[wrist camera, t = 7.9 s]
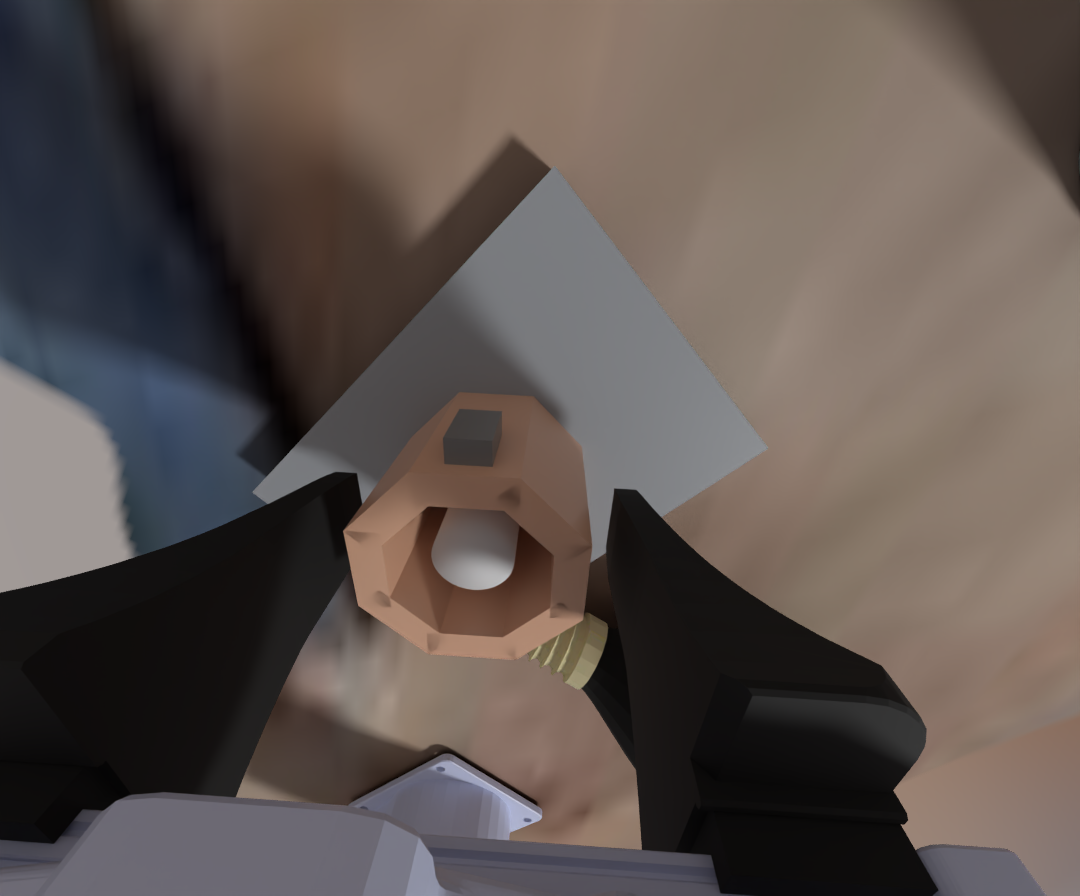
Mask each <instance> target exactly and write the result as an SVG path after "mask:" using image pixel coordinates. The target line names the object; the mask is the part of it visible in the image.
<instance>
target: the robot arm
mask: <svg viewBox="0 0 1080 896" xmlns="http://www.w3.org/2000/svg"><path fill="white" fill-rule="evenodd" d="M361 506H362V499H361V493H360V488H359V482H358V476H357V473H349V472H333V473H331V474H328V475H326V476H324V477H321V478H319V479H317V480H315V481H313V482H311V483H309V484H307V485H305V486H303V487H301V488H299V489H297V490H295V491H293V492H291V493H289V494H287V495H285V496H283V497H281V498H279V499H277V500H275V501H273V502H271V503H269V504H267V505H265V506H263V507H261V508H259V509H257V510H254V511H252V512H250V513H248V514H246V515H244V516H241V517H239V518H237V519H235V520H233V521H231V522H228V523H226V524H224V525H222V526H219V527H217V528H215V529H212V530H210V531H207V532H205V533H203V534H200V535H197V536H195V537H192V538H190V539H187V540H184V541H182V542H179V543H176V544H174V545H171V546H168V547H165V548H162V549H159V550H156V551H153V552H150V553H147V554H144V555H141V556H138V557H135V558H131V559H128V560H125V561H122V562H119V563H116V564H113V565H109V566H106V567H102V568H99V569H95V570H92V571H88V572H84V573H81V574H77V575H74V576H70V577H66V578H62V579H58V580H54V581H50V582H46V583H42V584H38V585H33V586H30V587H25V588H21V589H16V590H11V591H6V592H2V593H0V896H1047V895H1046V894H1045V893H1044V891H1043V890H1042V888H1041V887H1040V886H1039V884H1038V883H1037V882H1036V881H1035V879H1034V878H1033V876H1032V875H1031V874H1030V872H1029V871H1028V870H1027V868H1026V867H1025V865H1024V864H1023V863H1022V861H1021V860H1020V859H1019V857H1018V856H1017V855H1016V854H1015V853H1014V852H1012V851H1010V850H1008V849H1002V848H987V847H974V846H960V845H946V844H940V845H929V846H925V847H921V848H919V849H917V850H915V849H914V847H913V845H912V844H911V842H910V840H909V838H908V837H907V835H906V833H905V831H904V830H903V828H902V826H901V824H905V823H906V822H907V821H908V817H907V813H906V811H905V809H904V808H903V806H902V804H901V803H900V801H899V799H898V798H897V796H896V794H895V793H894V791H893V790H894V788H895V787H896V786H897V785H898V783H899V782H900V781H901V780H902V778H903V777H904V776H905V775H906V773H907V772H908V771H909V770H910V768H911V767H912V766H913V765H914V763H915V762H916V761H917V760H918V758H919V756H920V754H921V752H922V751H923V749H924V747H925V743H926V727H925V725H924V723H923V721H922V719H921V717H920V716H919V714H918V713H917V712H916V710H915V709H914V708H913V706H912V705H911V704H910V702H909V701H908V700H907V698H906V697H905V696H904V694H903V693H902V692H901V690H900V689H899V688H898V686H897V685H896V684H895V682H894V681H893V680H892V678H891V677H890V676H889V674H888V673H887V672H886V671H885V670H884V668H883V667H882V666H881V665H879V664H877V663H875V662H873V661H871V660H869V659H867V658H865V657H863V656H860V655H858V654H856V653H854V652H852V651H850V650H848V649H846V648H844V647H842V646H840V645H838V644H836V643H834V642H832V641H830V640H828V639H825V638H824V637H822V636H820V635H818V634H816V633H814V632H813V631H811V630H809V629H807V628H805V627H804V626H802V625H800V624H798V623H796V622H795V621H793V620H791V619H789V618H788V617H786V616H784V615H783V614H781V613H779V612H778V611H776V610H774V609H773V608H771V607H769V606H768V605H766V604H765V603H763V602H762V601H760V600H759V599H757V598H756V597H754V596H753V595H751V594H750V593H748V592H747V591H745V590H744V589H742V588H741V587H740V586H738V585H737V584H735V583H734V582H733V581H731V580H730V579H729V578H727V577H726V576H725V575H724V574H722V573H721V572H720V571H718V570H717V569H716V568H715V567H713V566H712V565H711V564H710V563H708V562H707V561H706V560H705V559H704V558H702V557H701V556H700V555H699V554H698V553H697V552H696V551H695V550H694V549H693V548H691V547H690V546H689V545H688V544H687V543H686V542H685V541H684V540H683V539H682V538H681V537H680V536H679V535H678V534H677V533H676V532H675V531H674V530H673V529H672V528H671V527H670V526H669V525H668V524H667V523H666V522H665V521H664V520H663V519H662V518H661V517H660V515H659V514H658V513H657V512H656V511H655V510H654V509H653V508H652V507H651V505H650V504H649V503H648V502H647V501H646V500H645V499H644V497H643V496H642V495H641V494H640V493H639V492H638V491H637V490H633V489H617V488H614V495H613V501H612V508H611V515H610V522H609V529H608V535H607V542H606V556H607V569H608V580H609V585H610V590H611V595H612V599H613V604H614V609H615V614H616V619H617V623H618V628H619V633H620V638H621V642H622V647H623V652H624V658H625V664H626V670H627V680H628V689H629V698H630V707H631V718H632V728H633V739H634V750H635V762H636V774H637V786H638V798H639V812H640V827H641V841H642V850H634V849H621V848H607V847H593V846H580V845H566V844H552V843H538V842H525V841H511V840H509V833H510V832H512V831H515V830H517V829H520V828H522V827H525V826H527V825H530V824H532V823H534V822H537V821H539V820H541V818H542V810H541V808H539V807H538V806H536V805H535V804H533V803H531V802H530V801H528V800H526V799H525V798H523V797H521V796H520V795H518V794H517V793H515V792H513V791H512V790H510V789H508V788H507V787H505V786H503V785H502V784H500V783H498V782H497V781H495V780H494V779H492V778H490V777H489V776H487V775H485V774H484V773H482V772H480V771H479V770H477V769H475V768H474V767H472V766H470V765H469V764H467V763H466V762H464V761H462V760H461V759H459V758H457V757H456V756H454V755H452V754H448V753H447V754H442V755H440V756H438V757H436V758H434V759H433V760H431V761H429V762H427V763H425V764H423V765H421V766H419V767H417V768H416V769H414V770H412V771H410V772H408V773H406V774H404V775H402V776H400V777H399V778H397V779H395V780H393V781H391V782H389V783H387V784H385V785H383V786H382V787H380V788H378V789H376V790H374V791H372V792H370V793H368V794H366V795H365V796H363V797H361V798H359V799H357V800H355V801H353V802H351V803H350V804H349V805H348V806H347V805H334V804H320V803H306V802H292V801H278V800H264V799H250V798H237V797H236V795H237V792H238V790H239V787H240V784H241V782H242V779H243V777H244V774H245V772H246V769H247V767H248V765H249V762H250V760H251V758H252V755H253V753H254V750H255V748H256V746H257V743H258V741H259V739H260V736H261V734H262V731H263V729H264V727H265V724H266V722H267V720H268V718H269V716H270V714H271V711H272V709H273V707H274V705H275V703H276V700H277V698H278V696H279V694H280V692H281V689H282V687H283V685H284V683H285V681H286V679H287V677H288V675H289V673H290V671H291V669H292V667H293V665H294V663H295V661H296V659H297V657H298V655H299V653H300V650H301V649H302V647H303V645H304V643H305V641H306V640H307V638H308V636H309V634H310V633H311V631H312V629H313V628H314V626H315V625H316V623H317V621H318V620H319V618H320V617H321V615H322V613H323V612H324V610H325V609H326V607H327V605H328V604H329V602H330V601H331V599H332V597H333V596H334V594H335V593H336V591H337V589H338V588H339V586H340V585H341V583H342V581H343V580H344V578H345V576H346V575H347V573H348V572H349V570H350V568H351V567H350V562H349V557H348V552H347V547H346V543H345V538H344V533H343V530H344V529H345V528H346V526H347V525H348V523H349V522H350V521H351V519H352V518H353V517H354V515H355V514H356V512H357V511H358V510H359V508H360V507H361Z"/></svg>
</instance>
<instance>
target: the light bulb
mask: <svg viewBox="0 0 1080 896" xmlns="http://www.w3.org/2000/svg"><path fill="white" fill-rule="evenodd" d="M527 654H528V655H529V662H530V660H531V659H532V658H536V659H538V660H539V661H540V668H541V667H543V666H544V665H549V666H550V667H551V668H552V671H551V674H552V675H553V674H555V673H556V672H561V673H562V674H563V681H564V683H567V684H569V685H571V686H572V687H574V688H576V689H578V690H579V689H580V688H582V689H583V690H584V692H585V693H586V694H587V696H588V697H589V698H590V700H591V701H592V703H593V704H594V706H595V707H596V709H597V710H598V712H599V713H600V715H601V717H602V718H603V720H604V721H605V723H606V724H607V726H608V728H609V729H610V731H611V733H612V734H613V736H614V737H615V739H616V740H617V742H618V744H619V745H620V747H621V748H622V750H623V751H624V753H625V754H626V756H627V757H628V759H629V760H630V762H631V763H632V765H633V766H634V768H635V769H636V762H635V750H634V739H633V728H632V718H631V707H630V698H629V689H628V680H627V670H626V664H625V658H624V652H623V647H622V642H621V638H620V633H619V629H614V628H608V626H607V623H605V622H604V621H602V620H600V619H598V618H597V617H595V616H593V615H591V614H590V613H585V614H584V617H583V620H582V621H581V622H579V623H577V624H576V625H574V626H572V627H571V628H569V629H567V630H565V631H564V632H562V633H560V634H559V635H557V636H555V637H554V638H552V639H550V640H549V641H547V642H545V643H543V644H542V645H540V646H538V647H537V648H535V649H533V650H532V651H530V652H528V653H527Z"/></svg>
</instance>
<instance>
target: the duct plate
mask: <svg viewBox="0 0 1080 896" xmlns="http://www.w3.org/2000/svg"><path fill="white" fill-rule="evenodd" d="M459 392H466V393H484V394H502V395H520V396H534V397H535V398H536V399H537V400H538V401H539V402H540V403H541V404H542V406H543V407H544V408H545V409H546V410H547V411H548V412H549V413H550V414H551V415H552V416H553V417H554V418H555V419H556V420H557V421H558V422H559V423H560V424H561V425H562V426H563V427H564V429H565V430H566V431H567V432H568V433H569V434H570V435H571V436H572V437H573V438H574V439H575V440H576V441H577V442H578V443H579V444H580V445H581V446H582V453H583V463H584V472H585V481H586V490H587V500H588V509H589V518H590V527H591V537H592V554H591V562H592V561H594V560H595V559H597V558H599V557H600V556H602V555H603V554H605V553H606V542H607V535H608V529H609V522H610V515H611V508H612V501H613V495H614V488H617V489H633V490H637V491H638V492H639V493H640V494H641V495H642V496H643V497H644V499H645V500H646V501H647V502H648V503H649V504H650V505H651V507H652V508H653V509H654V510H655V511H656V512H657V513H658V514H659V515H660V517H662V516H664V515H665V514H667V513H669V512H670V511H672V510H673V509H675V508H676V507H678V506H679V505H681V504H683V503H684V502H686V501H687V500H689V499H690V498H692V497H693V496H695V495H697V494H698V493H700V492H701V491H703V490H704V489H706V488H707V487H709V486H711V485H712V484H714V483H715V482H717V481H718V480H720V479H721V478H723V477H725V476H726V475H728V474H729V473H731V472H732V471H734V470H735V469H737V468H739V467H740V466H742V465H743V464H745V463H746V462H748V461H749V460H751V459H753V458H754V457H756V456H757V455H759V454H760V453H762V452H763V451H765V450H767V449H768V447H767V446H766V444H765V443H764V442H763V440H762V439H761V438H760V436H759V435H758V434H757V432H756V431H755V430H754V429H753V427H752V426H751V425H750V423H749V422H748V421H747V419H746V418H745V417H744V415H743V414H742V413H741V411H740V410H739V409H738V407H737V406H736V405H735V403H734V402H733V401H732V399H731V398H730V397H729V395H728V394H727V393H726V391H725V390H724V389H723V388H722V386H721V385H720V384H719V382H718V381H717V380H716V378H715V377H714V376H713V374H712V373H711V372H710V370H709V369H708V368H707V366H706V365H705V364H704V362H703V361H702V360H701V358H700V357H699V356H698V354H697V353H696V352H695V350H694V349H693V348H692V347H691V345H690V344H689V343H688V341H687V340H686V339H685V337H684V336H683V335H682V333H681V332H680V331H679V329H678V328H677V327H676V325H675V324H674V323H673V321H672V320H671V319H670V317H669V316H668V315H667V313H666V312H665V311H664V309H663V308H662V307H661V306H660V304H659V303H658V302H657V300H656V299H655V298H654V296H653V295H652V294H651V292H650V291H649V290H648V288H647V287H646V286H645V284H644V283H643V282H642V280H641V279H640V278H639V276H638V275H637V274H636V272H635V271H634V270H633V268H632V267H631V266H630V265H629V263H628V262H627V261H626V259H625V258H624V257H623V255H622V254H621V253H620V251H619V250H618V249H617V247H616V246H615V245H614V243H613V242H612V241H611V239H610V238H609V237H608V235H607V234H606V233H605V231H604V230H603V229H602V227H601V226H600V225H599V224H598V222H597V221H596V220H595V218H594V217H593V216H592V214H591V213H590V212H589V210H588V209H587V208H586V206H585V205H584V204H583V202H582V201H581V200H580V198H579V197H578V196H577V194H576V193H575V192H574V190H573V189H572V188H571V186H570V185H569V184H568V183H567V181H566V180H565V179H564V177H563V176H562V175H561V173H560V172H559V171H558V169H557V168H556V167H555V166H554V167H553V168H552V169H551V170H550V171H549V172H548V174H547V175H546V176H545V177H544V178H543V179H542V180H541V181H540V182H539V183H538V184H537V185H536V187H535V188H534V189H533V190H532V191H531V192H530V193H529V194H528V195H527V196H526V197H525V198H524V199H523V201H522V202H521V203H520V204H519V205H518V206H517V207H516V208H515V209H514V210H513V211H512V212H511V214H510V215H509V216H508V217H507V218H506V219H505V220H504V221H503V222H502V223H501V224H500V225H499V226H498V228H497V229H496V230H495V231H494V232H493V233H492V234H491V235H490V236H489V237H488V238H487V239H486V241H485V242H484V243H483V244H482V245H481V246H480V247H479V248H478V249H477V250H476V251H475V252H474V253H473V255H472V256H471V257H470V258H469V259H468V260H467V261H466V262H465V263H464V264H463V265H462V266H461V268H460V269H459V270H458V271H457V272H456V273H455V274H454V275H453V276H452V277H451V278H450V279H449V280H448V282H447V283H446V284H445V285H444V286H443V287H442V288H441V289H440V290H439V291H438V292H437V293H436V294H435V296H434V297H433V298H432V299H431V300H430V301H429V302H428V303H427V304H426V305H425V306H424V307H423V309H422V310H421V311H420V312H419V313H418V314H417V315H416V316H415V317H414V318H413V319H412V320H411V321H410V323H409V324H408V325H407V326H406V327H405V328H404V329H403V330H402V331H401V332H400V333H399V334H398V336H397V337H396V338H395V339H394V340H393V341H392V342H391V343H390V344H389V345H388V346H387V347H386V348H385V350H384V351H383V352H382V353H381V354H380V355H379V356H378V357H377V358H376V359H375V360H374V361H373V363H372V364H371V365H370V366H369V367H368V368H367V369H366V370H365V371H364V372H363V373H362V374H361V375H360V377H359V378H358V379H357V380H356V381H355V382H354V383H353V384H352V385H351V386H350V387H349V388H348V390H347V391H346V392H345V393H344V394H343V395H342V396H341V397H340V398H339V399H338V400H337V401H336V402H335V404H334V405H333V406H332V407H331V408H330V409H329V410H328V411H327V412H326V413H325V414H324V415H323V417H322V418H321V419H320V420H319V421H318V422H317V423H316V424H315V425H314V426H313V427H312V428H311V429H310V431H309V432H308V433H307V434H306V435H305V436H304V437H303V438H302V439H301V440H300V441H299V442H298V444H297V445H296V446H295V447H294V448H293V449H292V450H291V451H290V452H289V453H288V454H287V455H286V456H285V458H284V459H283V460H282V461H281V462H280V463H279V464H278V465H277V466H276V467H275V468H274V469H273V471H272V472H271V473H270V474H269V475H268V476H267V477H266V478H265V479H264V480H263V481H262V482H261V483H260V485H259V486H258V487H257V488H256V489H255V490H254V491H253V492H252V493H254V494H255V495H256V496H258V497H259V498H261V499H262V500H263V501H265V502H266V503H268V504H269V503H271V502H273V501H275V500H277V499H279V498H281V497H283V496H285V495H287V494H289V493H291V492H293V491H295V490H297V489H299V488H301V487H303V486H305V485H307V484H309V483H311V482H313V481H315V480H317V479H319V478H321V477H324V476H326V475H328V474H331V473H333V472H349V473H357V476H358V482H359V488H360V493H361V499H362V504H363V503H364V502H365V500H366V499H367V497H368V496H369V495H370V493H371V492H372V491H373V489H374V488H375V486H376V485H377V484H378V482H379V481H380V480H381V478H382V477H383V475H384V474H385V473H386V471H387V470H388V469H389V467H390V466H391V465H392V463H393V462H394V460H395V459H396V458H397V456H398V455H399V454H400V452H401V451H402V449H403V448H404V447H405V445H406V444H407V443H408V441H409V440H410V439H411V437H412V436H413V435H414V434H415V433H416V432H417V431H418V430H420V429H421V428H422V427H423V426H424V425H425V424H426V423H427V422H428V421H429V420H430V419H431V418H432V417H433V416H434V415H436V414H437V413H438V412H439V411H440V410H441V409H442V408H443V407H444V406H445V405H446V404H447V403H448V402H449V401H450V400H452V399H453V398H454V397H455V396H456V395H457V394H458V393H459ZM518 532H519V524H518V523H517V522H516V521H515V520H513V519H512V518H511V517H510V516H509V515H508V514H507V513H506V512H505V511H497V510H481V509H464V508H448V509H447V512H446V514H445V517H444V519H443V522H442V524H441V527H440V529H439V531H438V534H437V536H436V539H435V541H434V544H433V547H432V551H431V557H432V562H433V565H434V567H435V569H436V570H437V571H438V573H439V574H440V575H441V576H442V577H443V578H444V579H446V580H447V581H448V582H450V583H452V584H454V585H456V586H458V587H462V588H465V589H471V590H483V589H489V588H492V587H495V586H497V585H499V584H501V583H502V582H504V581H505V580H506V579H507V578H508V577H509V576H510V574H511V572H512V570H513V567H514V562H515V554H516V547H517V539H518ZM591 562H590V563H591Z"/></svg>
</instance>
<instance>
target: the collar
mask: <svg viewBox="0 0 1080 896" xmlns="http://www.w3.org/2000/svg"><path fill="white" fill-rule="evenodd" d="M448 508H464V509H481V510H497V511H505V512H506V513H507V514H508V515H509V516H510V517H511V518H512V519H513V520H515V521H516V522H517V523H518V524H519V532H518V539H517V547H516V554H515V562H514V567H513V570H512V572H511V574H510V576H509V577H508V578H507V579H506V580H505V581H504V582H502V583H501V584H499V585H497V586H495V587H492V588H489V589H483V590H471V589H465V588H462V587H458V586H456V585H454V584H452V583H450V582H448V581H447V580H446V579H444V578H443V577H442V576H441V575H440V574H439V573H438V571H437V570H436V569H435V567H434V565H433V562H432V557H431V551H432V547H433V544H434V541H435V539H436V536H437V534H438V531H439V529H440V527H441V524H442V522H443V519H444V517H445V514H446V512H447V509H448ZM343 533H344V538H345V543H346V547H347V552H348V557H349V562H350V567H351V572H352V577H353V582H354V586H355V591H356V596H357V601H358V606H360V607H361V608H363V609H364V610H365V611H367V612H368V613H370V614H371V615H373V616H374V617H376V618H377V619H379V620H380V621H381V622H383V623H384V624H386V625H387V626H389V627H390V628H392V629H393V630H394V631H396V632H397V633H399V634H400V635H402V636H403V637H405V638H406V639H407V640H409V641H410V642H412V643H413V644H415V645H416V646H418V647H419V648H421V649H422V650H423V651H425V652H426V653H428V654H434V655H449V656H464V657H479V658H494V659H509V660H516V659H518V658H520V657H521V656H523V655H525V654H526V653H528V652H530V651H532V650H533V649H535V648H537V647H538V646H540V645H542V644H543V643H545V642H547V641H549V640H550V639H552V638H554V637H555V636H557V635H559V634H560V633H562V632H564V631H565V630H567V629H569V628H571V627H572V626H574V625H576V624H577V623H579V622H581V621H582V620H583V617H584V609H585V601H586V593H587V585H588V578H589V570H590V562H591V554H592V537H591V527H590V518H589V509H588V500H587V490H586V481H585V472H584V463H583V453H582V446H581V445H580V444H579V443H578V442H577V441H576V440H575V439H574V438H573V437H572V436H571V435H570V434H569V433H568V432H567V431H566V430H565V429H564V427H563V426H562V425H561V424H560V423H559V422H558V421H557V420H556V419H555V418H554V417H553V416H552V415H551V414H550V413H549V412H548V411H547V410H546V409H545V408H544V407H543V406H542V404H541V403H540V402H539V401H538V400H537V399H536V398H535V397H534V396H520V395H502V394H484V393H466V392H459V393H458V394H457V395H456V396H455V397H454V398H453V399H452V400H450V401H449V402H448V403H447V404H446V405H445V406H444V407H443V408H442V409H441V410H440V411H439V412H438V413H437V414H436V415H434V416H433V417H432V418H431V419H430V420H429V421H428V422H427V423H426V424H425V425H424V426H423V427H422V428H421V429H420V430H418V431H417V432H416V433H415V434H414V435H413V436H412V437H411V439H410V440H409V441H408V443H407V444H406V445H405V447H404V448H403V449H402V451H401V452H400V454H399V455H398V456H397V458H396V459H395V460H394V462H393V463H392V465H391V466H390V467H389V469H388V470H387V471H386V473H385V474H384V475H383V477H382V478H381V480H380V481H379V482H378V484H377V485H376V486H375V488H374V489H373V491H372V492H371V493H370V495H369V496H368V497H367V499H366V500H365V502H364V503H363V504H362V506H361V507H360V508H359V510H358V511H357V512H356V514H355V515H354V517H353V518H352V519H351V521H350V522H349V523H348V525H347V526H346V528H345V529H344V530H343Z"/></svg>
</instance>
